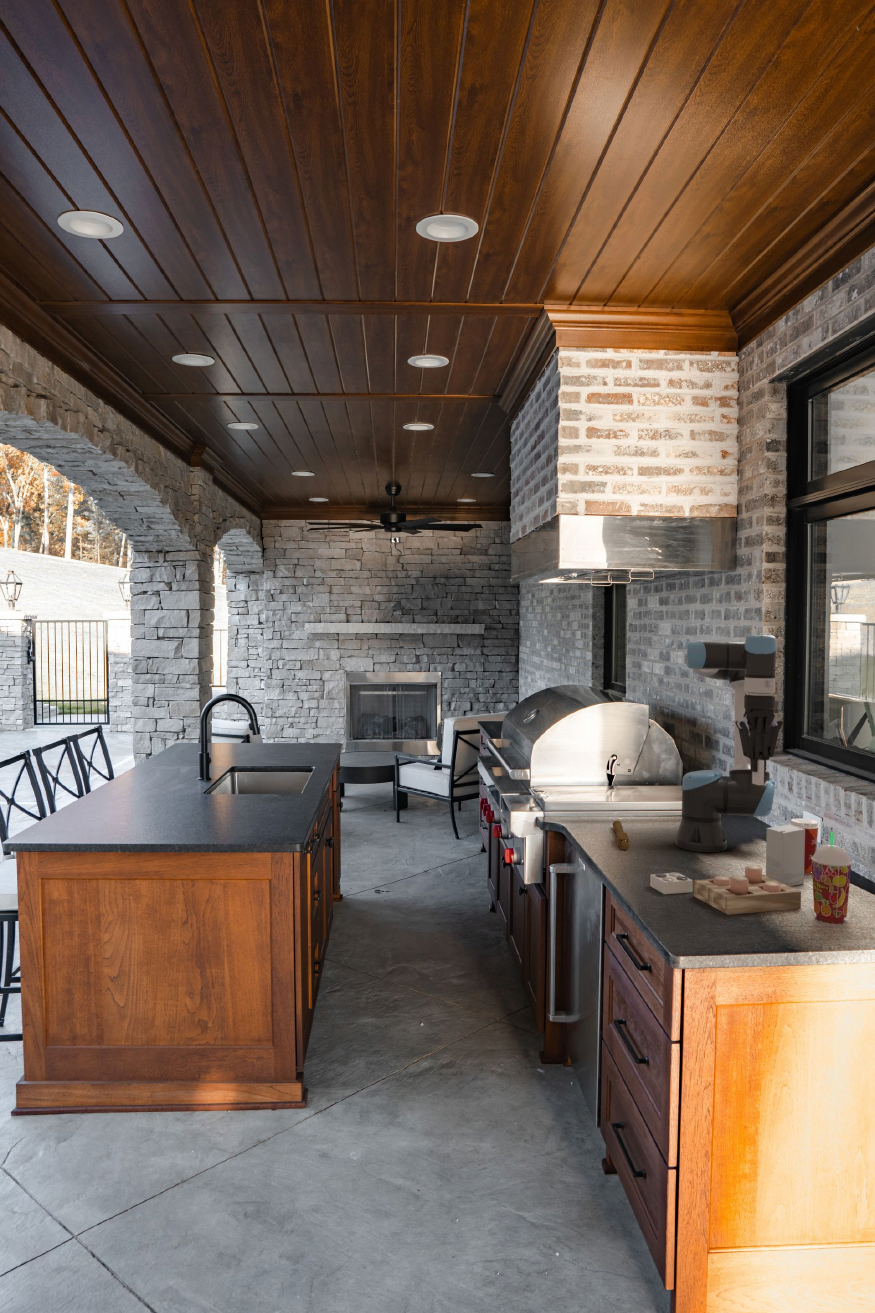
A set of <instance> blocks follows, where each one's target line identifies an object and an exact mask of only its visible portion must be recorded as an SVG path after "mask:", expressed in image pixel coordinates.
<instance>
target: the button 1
mask: <svg viewBox="0 0 875 1313" xmlns="http://www.w3.org/2000/svg"><path fill="white" fill-rule="evenodd" d="M729 878H730V877H728V876H725V875H724V876H722V875H717V876H715V877H713V878H712V879H713V884H715V885H717V886H731V880H730V879H729Z"/></svg>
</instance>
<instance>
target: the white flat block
mask: <svg viewBox="0 0 875 1313" xmlns="http://www.w3.org/2000/svg"><path fill="white" fill-rule="evenodd" d="M649 878H650V883H649V884H650V887H651V888H653V889H654V890H657V892H660V893H661V894H663V895H671V894H672V895H673V894H683V893H685V894H687V893H694V880H693V879H691V878H689V877H687V876H685V875H683V874H682V873H679V872H672V871H671V872H669V873H668V872H667V873H660V872H659V873H654V874H650V877H649Z"/></svg>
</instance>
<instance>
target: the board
mask: <svg viewBox="0 0 875 1313" xmlns="http://www.w3.org/2000/svg"><path fill="white" fill-rule="evenodd" d="M743 877H745V875H744V876H743ZM728 878H729V879H730V880H731V877H728ZM765 882H775V883H778V884H779V885H781V892H771V893H769V892H767V891H765V890H763V883H765ZM730 887H731V886H717V885H715V884H713V878H706V879H695V880H693V897H695V898H697V899H698V900H700V901H702V902H703V903H706V905H707V904H708V905H709V906H712V907H713V908H714V909H717V910H718V911H720V912H722V913H723V914H725V915H728V916H729V915H740V914H751V913H762V912H773V911H775V912H776V911H785V910H786V911H787V910H795V909H796V910H797V909H801V908H802V907H801V906H802V891H801V890H798V889H796V888H794V887H793V886H787V885H785V884H783V883H780V882H778V881H776V880H774V879H771V878H769V877H767V876H766V874H765V875H764V874H762V883H757V884H750V883H748V894H747V895H735V894H733V893H731V892H730Z"/></svg>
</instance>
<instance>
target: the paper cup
mask: <svg viewBox="0 0 875 1313" xmlns="http://www.w3.org/2000/svg"><path fill="white" fill-rule="evenodd" d="M788 825H792V826H795V827H799V828H802V829H805V854H804V873H811V872H812V859H811V858H812V856H814V854H815V852H816V850H817V849H818V848H817V845H818V835H819V834H818V833H819V828H820V825H819V822H818V821H817V820H815V819H812V818H811V819H809V818H802V817H801V818H791V819H790V822H789V824H788ZM811 874H812V873H811Z"/></svg>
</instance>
